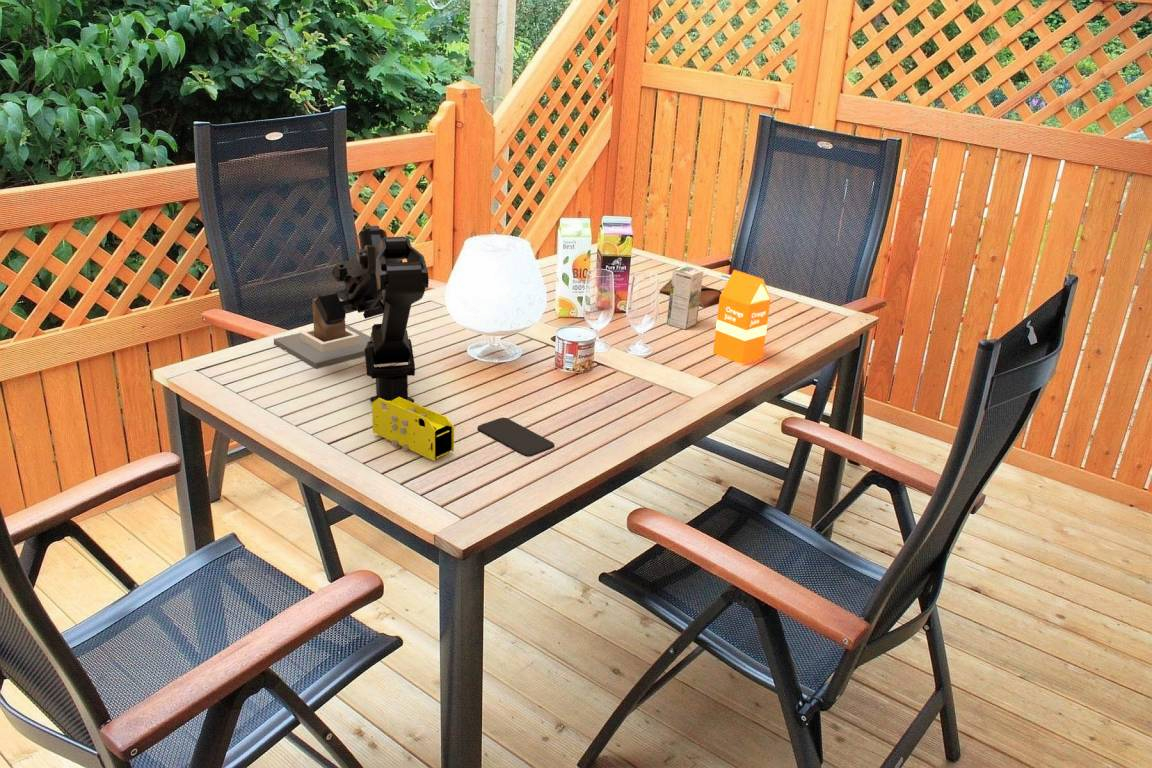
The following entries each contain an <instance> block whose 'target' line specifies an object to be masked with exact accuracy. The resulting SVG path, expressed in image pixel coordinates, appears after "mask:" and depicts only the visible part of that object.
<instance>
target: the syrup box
mask: <svg viewBox="0 0 1152 768" xmlns="http://www.w3.org/2000/svg"><path fill="white" fill-rule="evenodd" d="M671 275H672V276H671V279H672V282H671V291H670V296H669V302H668V307H667V308H668V310H667V317H666V318H667V319H666V325H668V326H671V327H675V328H678V329H683V330H688V329H690V328H692V327H694V326H696V325H697V323H698V317H699V309H700V308H699V307H700V306H699V302H700V294H701V286H703V284H702V283H703V278H704V277H703V276H704V271H703V270H701V269H698V268H696V267H692V266H686V265H685V266H681V267H679V268H677V269H674V270H672V274H671Z"/></svg>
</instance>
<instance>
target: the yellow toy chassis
mask: <svg viewBox="0 0 1152 768" xmlns="http://www.w3.org/2000/svg"><path fill="white" fill-rule="evenodd" d="M381 403H382V404H381ZM371 412H372V413H371V414H372V417H371V418H372V421H371V422H372V433H373V434H375V435H377V436H380V437H382V438H384V439H385V440H386V441H389V442H391V444H392V446H393V447H397V446H398V445H400V446H402V447H401V448H402V451H404V452H407V451H409V450H411V451H412V452H415V453H417V454H418V455H421V456H422V457H423V458H426V459H429V460H432V461H436V459H437V460H439V459H440V458H442V457H444V456H446V455H448V454H449V453H450V452H454V451H455V426H454V424H453V423H452V422H451V421H450V419H449V417H447V416H446V415H443V414H441V413H439V412H435V411H434V410H432V409H429V408H427V407H424V406H421V405H420V404H417V403H415V402H414V403H413V402H410V401H408V400H405V399H403V398H401V397H398V398H396V399H394V400H392V401H386V400H384V399H381V398H378V399H377V400H375V401H374V402H372V401H371Z"/></svg>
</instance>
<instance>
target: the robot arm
mask: <svg viewBox="0 0 1152 768" xmlns="http://www.w3.org/2000/svg"><path fill="white" fill-rule="evenodd" d="M358 240H359V241H358V242H359V247H360V248H358V251H356V259H349V260H344V261H340V262H339V263H336V265H335V266H334V267H333V268H332V271H331V275H332V277H333V278H334V280H336V282H340V283H341V282H343V283H344V284H345V287H344V291H345V293H346V294H348V295H349V296H348V299H346V300H344V301H340V300H339V296H338V293H336V292H335V291H330V292H326V293H321V294H318V296H317V297H316V300H315V304H316V306H317V308H318V310H319V312H320V314H321V316H322V318H323V320H324V323H326V324H327V326H328V327H330V326H333V325H336V324H339V323H342V322H343V320H344V319H345V320H346V318H347V317H346V314H347V313H350V312H354V311H357V313H358V314H360V313H363V314H362V315H363V318H364V319H368V318H373V317H376V316H379V315H382V319H381V320H382V321H381V323H375V324H373V325H372V326H371V333H370V342H367V346H366V348H365V349H364V351H365V356H364V359H365V367H366V369H365V371H366V376H367V377H370V378H371V380H375V394H376V395H373V396H371V397H370V398H369V400H370V401H371V403H372V402H374V401H375V400H377V399H378V398H381V399H384V400H386V401H392V400H394V399H396V398H398V397H401V398H403V399H405V400H408V401H410V402H413V403H415V399H413V398H411V397H410V396H409V390H408V388H409V385H408V383H409V382H408V381H409V380H408V377H409V376H412V377H415V376H416V366H415V365H416V364H415V359H414V350H413V344H412V340H411V339H410V338H409V333H408V330H407V328H408V321H409V317H410V313H411V308H412V304H414V303H416V302H418V301H420V300H423V299H422V298H423V296H424V294H425V291H426V289H428V287H429V283H430V282H429V281H430V280H429V279H430V278H429V271H428V267H427V263H426V259H425V256H424V255H423V254H422V253H420V252H419V251H418V250H417V249H416V248H414V247H413V246H412V244H411V241H410V238H409V237H406V236H388V234H387V232H386V231H385V230H384V229H383V228H380V225H369V227H368V228H367V229H364V230H362V231H361V232H360V233H359V234H358ZM403 260H406V261H403ZM401 363H402V364H401ZM404 363H407V364H404ZM388 364H389V365H388ZM390 364H396V365H390ZM375 365H381V366H375ZM383 365H384V366H383ZM381 404H382V403H381Z"/></svg>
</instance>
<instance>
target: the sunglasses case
mask: <svg viewBox="0 0 1152 768" xmlns="http://www.w3.org/2000/svg"><path fill="white" fill-rule="evenodd" d="M671 282H672V278H671V279H670V280H669V281H667V283H666V284H665V285H664V286H662V288H660V289H659V291H660V293H659V294H661V295H662V294H663V295H666V296H669V297H670V291H671ZM721 293H722V291H721V290H718V289H716V288H712V287H708V286H705V285H702V286H701V294H700V302H699V307H700V308H705V309H707V308H709V307H712V306H715V305H719V300H720V295H721Z"/></svg>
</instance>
